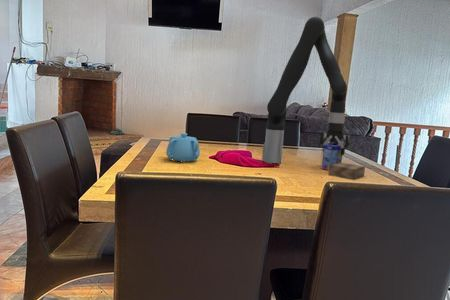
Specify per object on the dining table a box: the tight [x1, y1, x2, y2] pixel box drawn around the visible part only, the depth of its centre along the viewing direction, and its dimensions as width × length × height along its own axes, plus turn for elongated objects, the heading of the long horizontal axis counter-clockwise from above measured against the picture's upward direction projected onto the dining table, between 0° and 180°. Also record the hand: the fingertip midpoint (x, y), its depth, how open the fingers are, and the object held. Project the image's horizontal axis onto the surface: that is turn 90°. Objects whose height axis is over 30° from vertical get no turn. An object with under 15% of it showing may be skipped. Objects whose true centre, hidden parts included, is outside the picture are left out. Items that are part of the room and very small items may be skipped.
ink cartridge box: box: [321, 141, 343, 171], centre depth 193 cm, size 10×6×14 cm, turn 130°
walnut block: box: [328, 162, 366, 181], centre depth 179 cm, size 12×12×5 cm
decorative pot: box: [165, 132, 201, 162], centre depth 190 cm, size 16×16×14 cm
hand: (333, 154), depth 193 cm, fingers open, 8 cm apart
